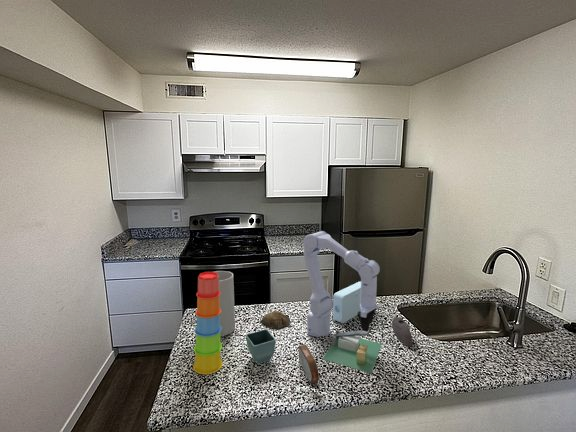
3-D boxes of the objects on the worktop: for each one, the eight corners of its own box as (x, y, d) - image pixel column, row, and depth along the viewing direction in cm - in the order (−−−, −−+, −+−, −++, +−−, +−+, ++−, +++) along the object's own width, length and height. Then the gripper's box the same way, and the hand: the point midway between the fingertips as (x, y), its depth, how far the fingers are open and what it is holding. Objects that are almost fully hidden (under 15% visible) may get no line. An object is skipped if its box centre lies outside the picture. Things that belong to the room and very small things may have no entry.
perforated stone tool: (416, 350, 120) (417, 334, 119) (402, 350, 120) (403, 334, 119) (402, 330, 135) (403, 315, 134) (390, 330, 135) (391, 315, 134)
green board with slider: (322, 360, 114) (322, 349, 113) (338, 334, 132) (338, 325, 131) (371, 375, 106) (371, 363, 105) (381, 345, 124) (382, 335, 123)
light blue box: (343, 325, 140) (343, 297, 138) (332, 320, 144) (333, 293, 142) (370, 308, 156) (371, 283, 154) (360, 305, 160) (361, 280, 158)
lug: (356, 363, 111) (356, 351, 110) (360, 354, 116) (360, 343, 115) (364, 365, 110) (365, 354, 109) (368, 357, 115) (368, 346, 114)
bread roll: (258, 322, 143) (257, 312, 143) (278, 313, 152) (278, 304, 151) (275, 332, 134) (275, 322, 133) (296, 323, 142) (296, 313, 141)
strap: (333, 339, 123) (332, 336, 123) (336, 334, 126) (335, 331, 126) (368, 336, 116) (367, 332, 116) (370, 331, 120) (369, 327, 120)
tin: (319, 388, 100) (320, 364, 99) (310, 389, 99) (310, 366, 98) (305, 360, 115) (305, 339, 113) (296, 361, 114) (296, 340, 112)
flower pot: (254, 369, 110) (253, 346, 108) (245, 356, 117) (245, 334, 116) (276, 362, 114) (276, 339, 112) (267, 349, 121) (266, 328, 120)
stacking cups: (206, 354, 118) (202, 268, 113) (228, 361, 114) (224, 272, 108) (187, 370, 109) (181, 277, 104) (210, 378, 105) (205, 282, 99)
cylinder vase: (240, 326, 139) (239, 273, 135) (222, 340, 128) (220, 283, 124) (219, 320, 145) (216, 269, 141) (200, 333, 134) (197, 278, 130)
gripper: (375, 302, 108) (373, 338, 110) (382, 288, 120) (381, 320, 122) (355, 299, 111) (354, 334, 113) (364, 285, 123) (363, 316, 126)
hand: (367, 326), depth 118 cm, fingers open, 6 cm apart
